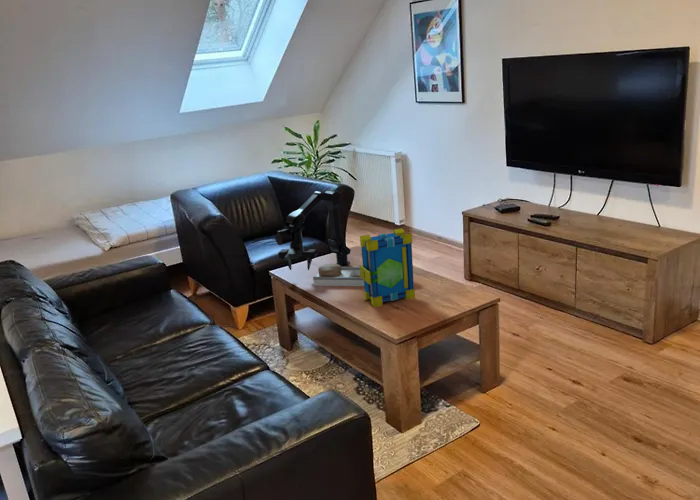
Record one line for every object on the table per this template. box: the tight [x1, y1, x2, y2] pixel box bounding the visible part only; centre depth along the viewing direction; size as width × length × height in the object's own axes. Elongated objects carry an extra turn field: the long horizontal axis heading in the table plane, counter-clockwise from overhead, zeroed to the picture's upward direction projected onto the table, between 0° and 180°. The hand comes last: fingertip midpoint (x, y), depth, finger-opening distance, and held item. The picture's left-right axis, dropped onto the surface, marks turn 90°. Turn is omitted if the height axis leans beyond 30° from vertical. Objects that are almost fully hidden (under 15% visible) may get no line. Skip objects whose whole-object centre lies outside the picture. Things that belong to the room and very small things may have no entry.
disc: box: [318, 263, 342, 277], centre depth 310 cm, size 11×11×4 cm
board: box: [312, 266, 364, 287], centre depth 308 cm, size 15×31×5 cm, turn 77°
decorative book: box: [358, 227, 416, 308], centre depth 278 cm, size 14×23×30 cm, turn 111°
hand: (299, 270), depth 313 cm, fingers open, 9 cm apart
